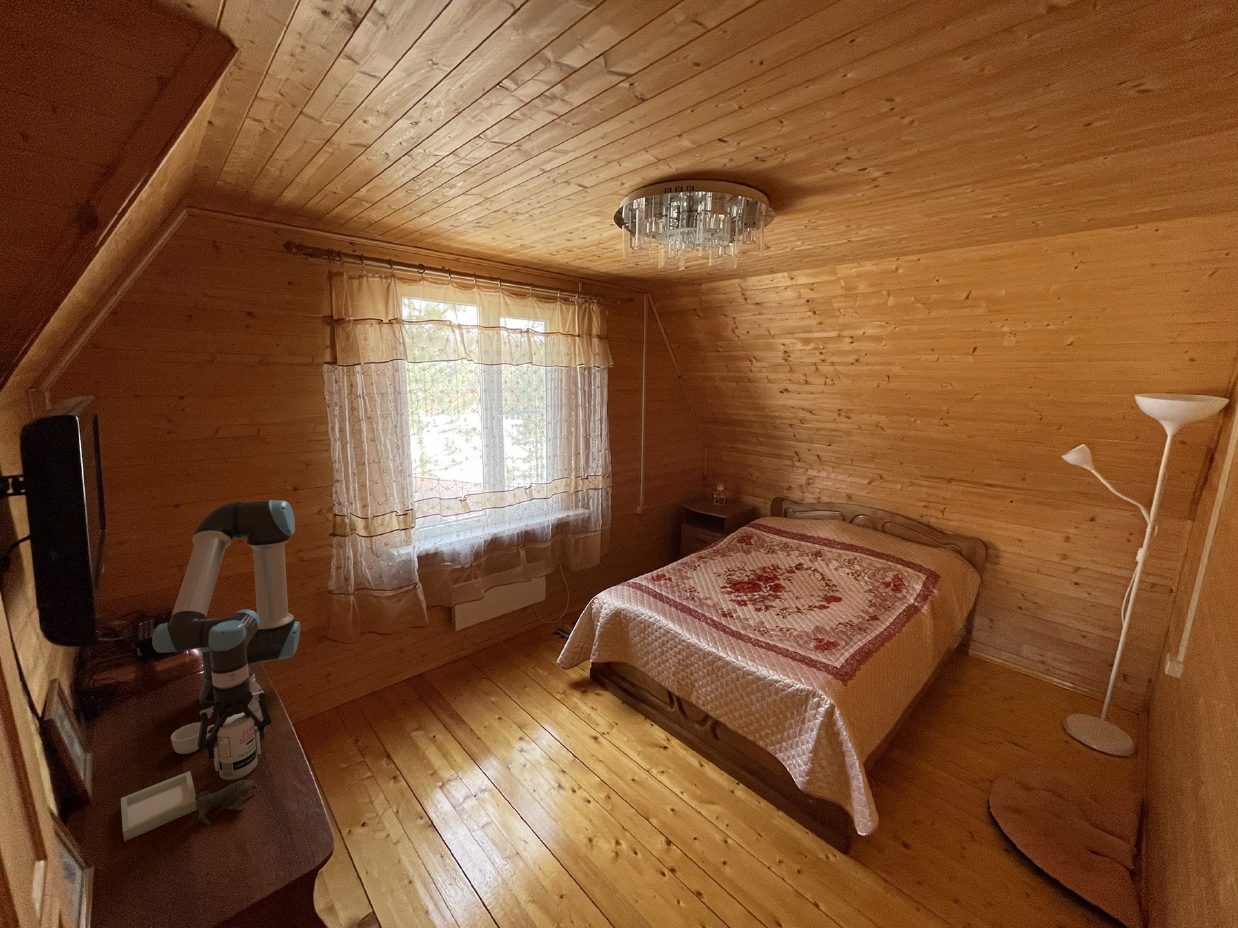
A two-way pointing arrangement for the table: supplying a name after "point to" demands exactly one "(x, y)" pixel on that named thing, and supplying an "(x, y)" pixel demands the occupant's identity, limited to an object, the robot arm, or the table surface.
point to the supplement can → (237, 747)
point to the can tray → (157, 805)
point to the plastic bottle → (253, 703)
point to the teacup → (187, 738)
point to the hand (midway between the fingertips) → (238, 759)
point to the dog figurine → (223, 798)
